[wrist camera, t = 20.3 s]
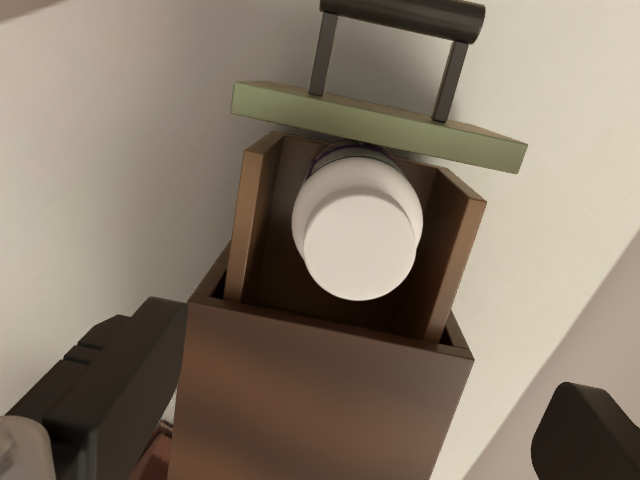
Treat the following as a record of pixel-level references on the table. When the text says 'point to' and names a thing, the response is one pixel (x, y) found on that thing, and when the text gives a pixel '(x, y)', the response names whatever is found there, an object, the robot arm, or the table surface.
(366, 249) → the pill bottle
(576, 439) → the robot arm
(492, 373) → the table surface
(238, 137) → the table surface
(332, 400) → the cabinet
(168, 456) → the desk organizer
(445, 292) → the drawer
